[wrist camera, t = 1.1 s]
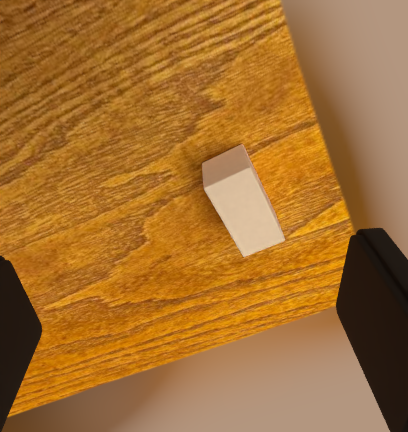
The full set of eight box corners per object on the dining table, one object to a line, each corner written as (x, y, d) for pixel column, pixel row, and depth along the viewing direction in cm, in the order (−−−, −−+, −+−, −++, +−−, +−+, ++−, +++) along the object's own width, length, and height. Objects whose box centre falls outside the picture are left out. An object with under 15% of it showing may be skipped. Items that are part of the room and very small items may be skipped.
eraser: (201, 162, 23) (203, 188, 20) (242, 143, 23) (250, 166, 20) (237, 227, 26) (243, 257, 23) (274, 211, 26) (286, 241, 23)
